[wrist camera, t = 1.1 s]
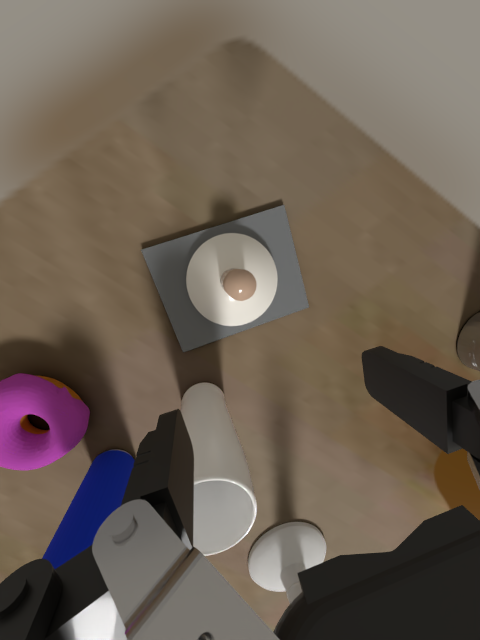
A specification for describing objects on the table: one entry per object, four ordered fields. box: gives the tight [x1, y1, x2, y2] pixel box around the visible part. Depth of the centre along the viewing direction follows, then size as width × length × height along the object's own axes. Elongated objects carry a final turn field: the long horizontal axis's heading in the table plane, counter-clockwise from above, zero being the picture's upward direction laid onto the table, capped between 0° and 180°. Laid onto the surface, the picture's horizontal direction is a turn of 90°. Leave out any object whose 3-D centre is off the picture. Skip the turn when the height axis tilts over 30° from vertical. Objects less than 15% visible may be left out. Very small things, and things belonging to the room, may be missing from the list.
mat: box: [141, 205, 309, 352], centre depth 28 cm, size 16×12×1 cm
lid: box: [186, 233, 278, 326], centre depth 25 cm, size 10×10×6 cm
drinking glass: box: [180, 382, 257, 556], centre depth 24 cm, size 7×7×15 cm
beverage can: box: [42, 449, 135, 569], centre depth 24 cm, size 5×5×15 cm
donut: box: [0, 373, 90, 470], centre depth 26 cm, size 10×10×5 cm
